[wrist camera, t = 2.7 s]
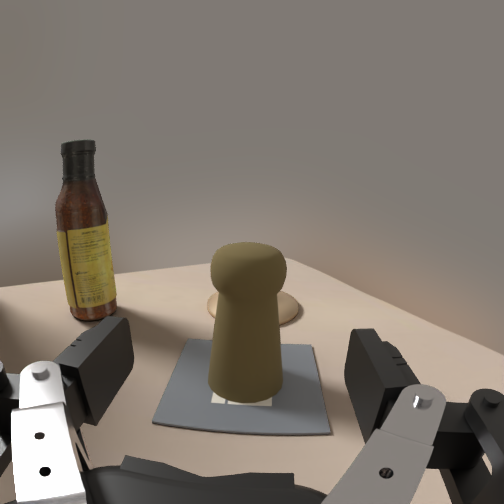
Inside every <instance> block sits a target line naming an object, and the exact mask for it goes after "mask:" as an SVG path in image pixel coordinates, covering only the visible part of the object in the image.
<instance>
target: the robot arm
mask: <svg viewBox="0 0 504 504" xmlns="http://www.w3.org/2000/svg"><path fill="white" fill-rule="evenodd" d="M402 357H403V356H402V355H401V353H400V352H399V350H398V349H397V348H396V347H394V346H393V345H392V344H390V343H389V342H387V341H384V342H382V341H381V339H380V338H379V336H378V334H377V333H376V331H375V330H374V329H353V330H352V332H351V335H350V341H349V346H348V352H347V358H346V363H345V370H344V378H345V384H346V387H347V390H348V393H349V396H350V399H351V402H352V405H353V408H354V411H355V414H356V417H357V420H358V423H359V426H360V429H361V432H362V436H363V439H364V442H365V446H364V447H363V449H362V450H361V452H360V453H359V454H358V456H357V457H356V459H355V460H354V462H353V463H352V464H351V466H350V467H349V468H348V470H347V471H346V473H345V474H344V475H343V477H342V478H341V479H340V480H339V482H338V483H337V484H336V486H335V487H334V488H333V489H332V491H331V492H330V493H329V494H328V495H326V494H324V493H322V492H320V491H317V490H314V489H312V488H308V487H304V486H300V485H295V484H294V473H251V472H250V473H243V474H235V475H226V476H216V477H202V476H198V475H195V474H192V473H189V472H187V471H184V470H181V469H178V468H175V467H173V466H170V465H168V464H165V463H161V462H156V461H150V460H145V459H140V458H136V457H131V456H127V455H125V458H124V460H123V462H122V464H121V466H105V467H98V468H93V465H92V462H91V459H90V456H89V453H88V449H87V446H86V443H85V439H84V436H83V433H82V430H81V428H80V426H81V425H82V423H87V424H91V425H94V426H97V424H98V422H99V421H100V419H101V418H102V416H103V414H104V413H105V411H106V410H107V408H108V407H109V405H110V403H111V402H112V400H113V399H114V397H115V396H116V394H117V392H118V391H119V389H120V388H121V386H122V385H123V383H124V381H125V380H126V378H127V377H128V375H129V374H130V372H131V371H132V368H133V364H134V353H133V346H132V340H131V333H130V326H129V322H128V320H127V319H126V318H122V317H113V316H106V317H105V318H104V319H103V320H102V321H101V322H100V323H99V324H98V325H97V326H96V327H93V328H91V329H89V330H87V331H85V332H83V333H82V334H81V335H80V336H79V337H78V338H77V339H76V340H75V341H74V342H72V343H71V344H70V346H68V347H67V348H66V349H65V350H64V351H63V352H62V353H61V354H60V355H59V356H58V357H57V358H56V359H55V360H54V361H53V362H51V361H38V362H34V363H32V364H29V365H28V366H26V367H25V368H24V369H23V370H22V372H21V374H9V373H6V371H5V369H4V366H3V363H2V362H1V361H0V477H1V475H2V474H3V472H4V471H5V469H6V468H7V466H8V465H9V463H10V462H11V460H12V459H13V467H14V478H15V487H16V494H17V499H16V500H14V501H11V502H8V503H5V504H410V502H411V500H412V498H413V496H414V494H415V492H416V490H417V487H418V485H419V483H420V481H421V478H422V476H423V474H424V471H425V469H426V468H428V469H439V470H440V473H441V476H442V478H443V481H444V483H445V486H446V489H447V491H448V494H449V497H450V499H451V502H452V504H504V395H503V394H501V393H500V392H498V391H495V390H492V389H479V390H476V391H475V392H473V394H472V395H471V397H470V400H469V402H468V403H455V402H446V399H445V396H444V395H443V394H442V392H440V391H439V390H438V389H436V388H434V387H431V386H428V385H423V384H420V382H419V381H418V379H417V377H416V376H415V374H414V373H413V371H412V370H411V368H410V367H409V365H407V362H406V361H405V359H404V358H402ZM484 453H486V455H487V457H488V459H489V461H490V463H491V465H492V475H491V474H490V472H489V470H488V468H487V466H486V464H485V462H484V461H483V459H482V456H483V455H484Z"/></svg>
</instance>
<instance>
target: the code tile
mask: <svg viewBox="0 0 504 504" xmlns="http://www.w3.org/2000/svg"><path fill="white" fill-rule="evenodd" d="M211 348H212V340H200V339H188V340H187V342H186V344H185V346H184V349H183V351H182V353H181V355H180V358H179V360H178V362H177V364H176V367H175V369H174V371H173V373H172V376H171V378H170V380H169V383H168V385H167V387H166V389H165V392H164V394H163V396H162V399H161V401H160V403H159V406H158V408H157V410H156V413H155V415H154V417H153V420H152V423H155V424H161V425H167V426H174V427H181V428H189V429H197V430H206V431H216V432H227V433H242V434H262V435H321V434H330V427H329V423H328V418H327V413H326V408H325V404H324V399H323V395H322V390H321V386H320V381H319V377H318V372H317V368H316V363H315V359H314V355H313V350H312V346H311V345H304V344H281V357H282V372H283V384H282V388H281V389H280V390H279V392H278V393H277V394H276V395H274V396H273V397H271V398H269V399H267V400H264V401H260V402H256V403H238V402H232V401H228V400H226V399H224V398H221V397H219V396H218V395H217V394H215V393H214V392H213V391H212V390H211V388H210V386H209V384H208V373H209V365H210V357H211Z"/></svg>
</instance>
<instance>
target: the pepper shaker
mask: <svg viewBox="0 0 504 504" xmlns="http://www.w3.org/2000/svg"><path fill="white" fill-rule="evenodd" d="M286 272H287V267H286V261H285V259H284V257H283V255H282V253H281V252H280V251H279V250H278V249H276V248H274V247H272V246H269V245H265V244H260V243H252V242H241V243H233V244H228V245H225V246H223V247H221V248H220V249H218V250H217V251H216V253H215V254H214V256H213V259H212V262H211V279H212V283H213V285H214V287H215V288H216V289H217V291H218V292H219V294H218V301H217V309H216V317H215V324H214V332H213V340H212V348H211V357H210V365H209V373H208V384H209V386H210V388H211V390H212V391H213V392H214V393H215V394H217V395H218V396H219V397H221V398H224V399H226V400H228V401H232V402H238V403H256V402H260V401H264V400H267V399H269V398H271V397H273V396H274V395H276V394H277V393H278V392H279V390H280V389H281V388H282V384H283V372H282V357H281V342H280V328H279V314H278V300H277V294H278V292H279V291H280V290H281V289H282V287H283V284H284V281H285V278H286Z"/></svg>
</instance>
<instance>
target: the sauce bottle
mask: <svg viewBox="0 0 504 504" xmlns="http://www.w3.org/2000/svg"><path fill="white" fill-rule="evenodd" d="M95 151H96V147H95V141H94V140H74V141H68V142H64V143H62V144H61V155H62V157H63V178H62V179H63V186H62V189H61V192H60V195H59V196H58V199H57V201H56V207H55V211H56V219H57V238H58V246H59V253H60V260H61V266H62V273H63V279H64V285H65V290H66V295H67V300H68V304H69V305H70V311H71V313H72V315H73V316H75V317H77V318H79V319H81V320H98V319H102V318H105V317H106V316H109V315H111V314H112V313H113V312H115V310H116V309H117V303H116V295H117V294H116V287H115V279H114V272H113V265H112V257H111V247H110V237H109V229H108V228H109V227H108V215H107V212H106V209H105V206H104V203H103V200H102V197H101V194H100V191H99V188H98V185H97V182H96V179H95V174H94V154H95Z"/></svg>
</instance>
